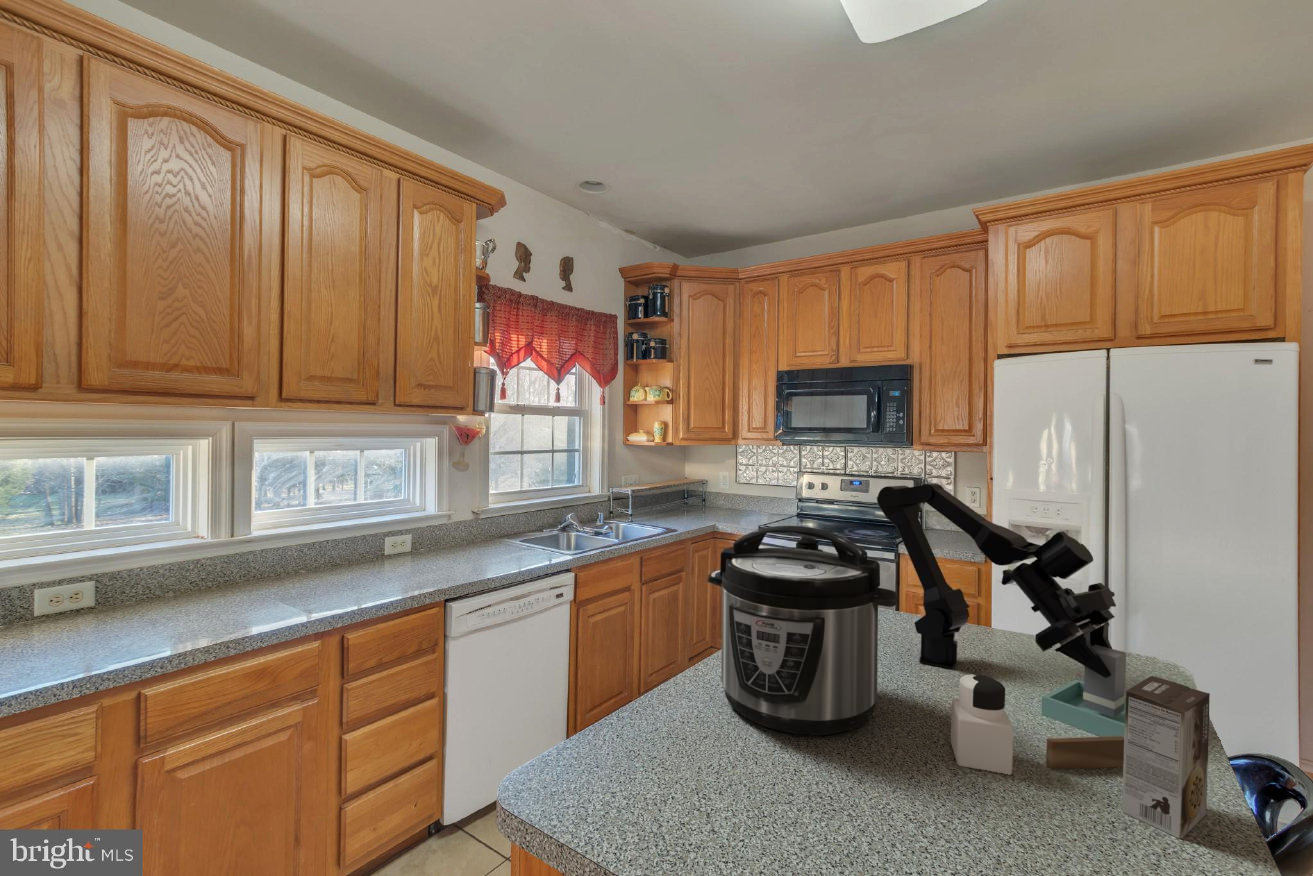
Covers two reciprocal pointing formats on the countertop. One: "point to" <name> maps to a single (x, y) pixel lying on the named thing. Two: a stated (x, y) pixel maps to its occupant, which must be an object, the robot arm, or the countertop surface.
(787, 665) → the pressure cooker
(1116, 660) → the grey upright cuboid
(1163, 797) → the coffee box
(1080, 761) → the back rail
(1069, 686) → the tray
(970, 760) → the medicine bottle
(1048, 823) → the countertop surface
